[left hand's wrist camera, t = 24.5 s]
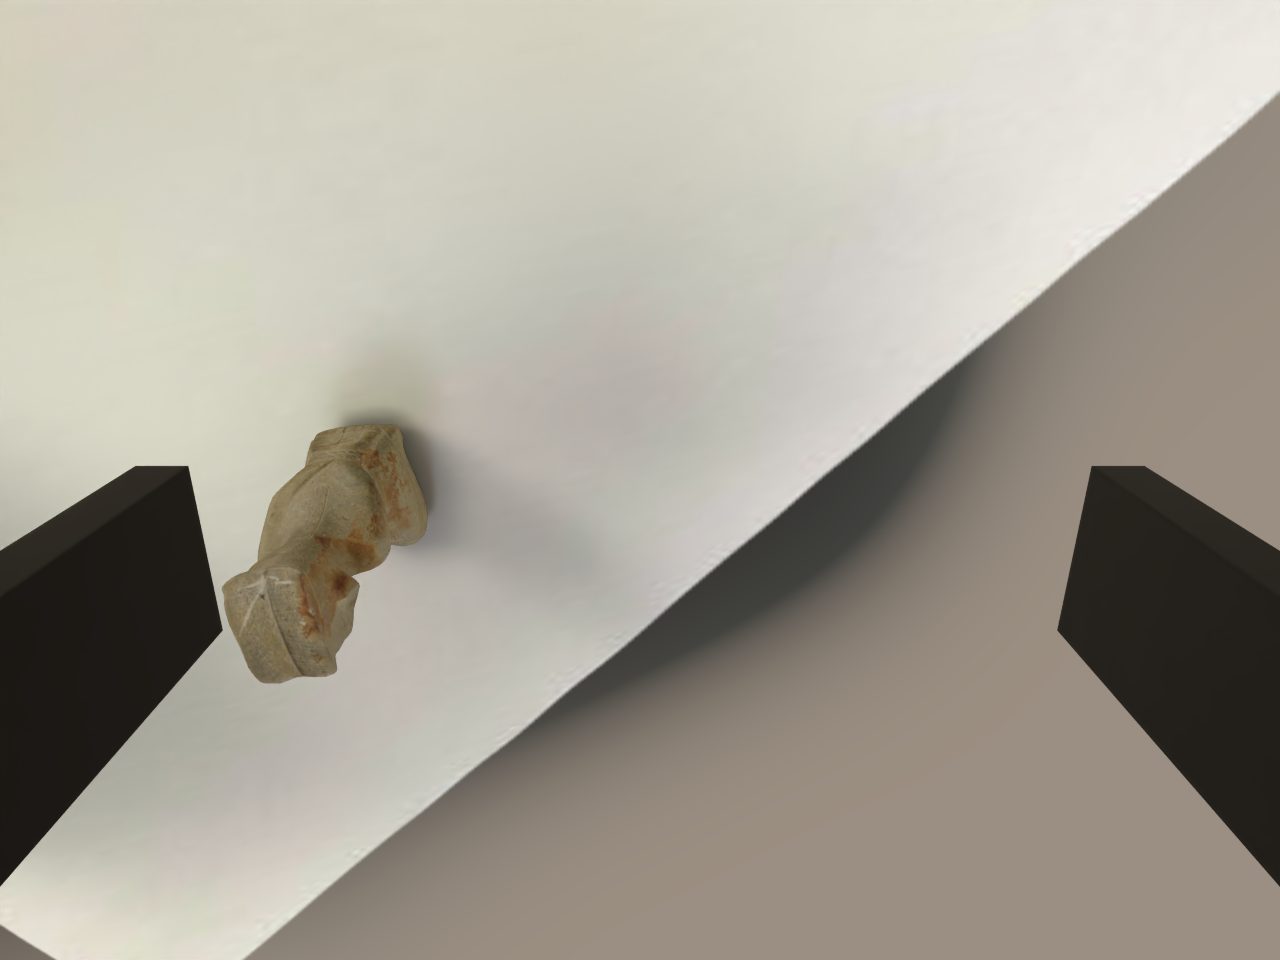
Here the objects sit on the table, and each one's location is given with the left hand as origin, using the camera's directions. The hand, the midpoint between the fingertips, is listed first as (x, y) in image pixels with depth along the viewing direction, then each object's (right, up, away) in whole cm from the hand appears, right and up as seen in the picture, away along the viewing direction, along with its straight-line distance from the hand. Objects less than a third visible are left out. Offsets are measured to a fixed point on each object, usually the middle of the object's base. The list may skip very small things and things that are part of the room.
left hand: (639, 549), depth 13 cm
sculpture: (-14, +1, +33) cm, 36 cm away
